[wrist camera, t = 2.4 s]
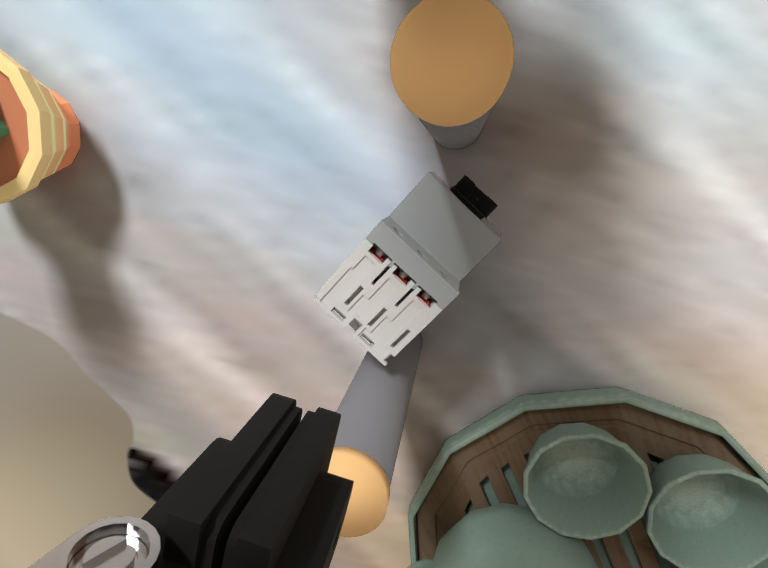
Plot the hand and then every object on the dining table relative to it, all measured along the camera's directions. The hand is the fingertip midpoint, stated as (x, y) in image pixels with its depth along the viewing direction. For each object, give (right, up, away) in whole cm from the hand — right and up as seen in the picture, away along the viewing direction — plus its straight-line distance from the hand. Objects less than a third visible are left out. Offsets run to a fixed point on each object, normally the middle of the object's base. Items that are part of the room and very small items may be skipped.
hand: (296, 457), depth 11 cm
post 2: (+9, +20, +33) cm, 39 cm away
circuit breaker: (+6, +9, +36) cm, 38 cm away
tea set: (+25, -25, +41) cm, 54 cm away
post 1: (+4, -2, +39) cm, 39 cm away
